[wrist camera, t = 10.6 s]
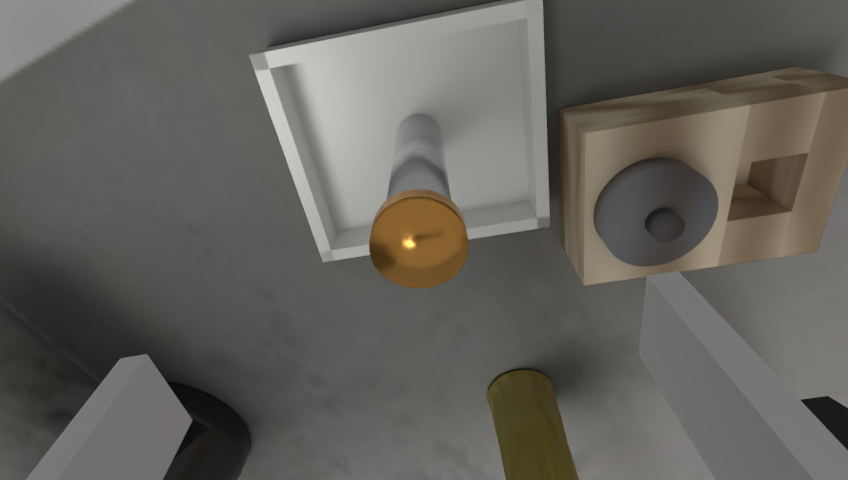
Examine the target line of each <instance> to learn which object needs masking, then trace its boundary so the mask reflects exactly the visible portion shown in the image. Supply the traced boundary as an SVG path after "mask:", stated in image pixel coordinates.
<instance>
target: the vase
mask: <svg viewBox="0 0 848 480" xmlns="http://www.w3.org/2000/svg"><path fill="white" fill-rule="evenodd" d="M487 399H488V403H489V406H490V408H491V412H492V415H493V419H494V424H495V429H496V434H497V438H498V442H499V446H500V451H501V456H502V461H503V467H504V472H505V477H506V480H579V478H578V475H577V472H576V468H575V465H574V462H573V458H572V455H571V452H570V449H569V446H568V443H567V439H566V435H565V431H564V427H563V423H562V419H561V415H560V411H559V408H558V405H557V401H556V397H555V393H554V386H553V383H552V382H551V380H550V379H549V378H548V377H547V376H545V375H544V374H542V373H539V372H536V371H533V370H515V371H511V372H508V373H506V374H503V375H502V376H500V377H498V378H497V379H496V380H495V381H494V382H493V383H492V385H491V386H490V388H489V389H488V393H487Z"/></svg>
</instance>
